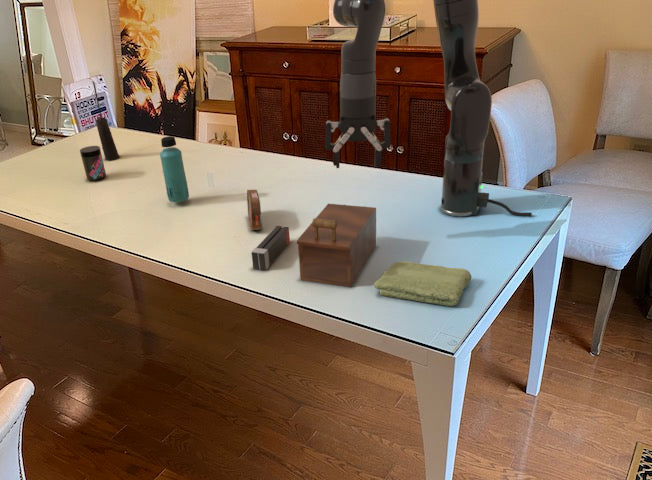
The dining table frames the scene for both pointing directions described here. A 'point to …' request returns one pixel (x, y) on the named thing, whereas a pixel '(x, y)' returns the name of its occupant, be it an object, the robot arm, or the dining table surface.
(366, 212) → the lid
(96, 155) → the supplement container
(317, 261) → the chest
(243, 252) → the dining table surface
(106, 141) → the butter churn
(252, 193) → the tin
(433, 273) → the washcloth
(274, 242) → the dark grey long block
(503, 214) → the dining table surface
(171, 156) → the beverage bottle
